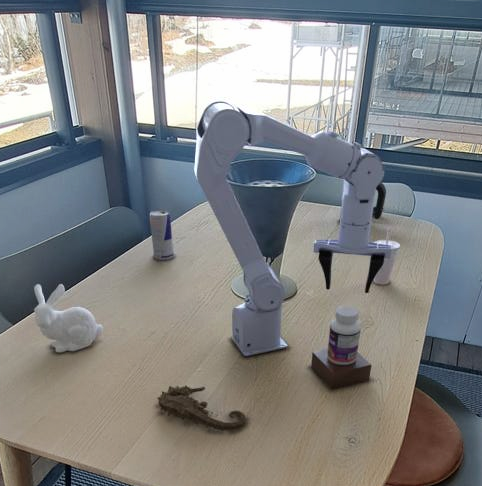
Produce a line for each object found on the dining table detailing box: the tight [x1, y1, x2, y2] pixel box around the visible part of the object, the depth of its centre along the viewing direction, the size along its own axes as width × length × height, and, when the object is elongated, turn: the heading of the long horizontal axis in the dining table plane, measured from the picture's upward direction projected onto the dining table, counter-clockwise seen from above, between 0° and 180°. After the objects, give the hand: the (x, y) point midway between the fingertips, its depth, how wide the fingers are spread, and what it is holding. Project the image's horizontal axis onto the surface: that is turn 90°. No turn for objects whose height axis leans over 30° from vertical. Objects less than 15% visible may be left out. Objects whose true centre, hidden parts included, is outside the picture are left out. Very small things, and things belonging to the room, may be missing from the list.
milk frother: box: [338, 179, 387, 224], centre depth 168 cm, size 14×16×15 cm
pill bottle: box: [327, 305, 362, 365], centre depth 94 cm, size 5×5×10 cm
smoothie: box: [373, 226, 401, 286], centre depth 129 cm, size 6×6×14 cm
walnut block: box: [310, 348, 373, 391], centre depth 98 cm, size 8×8×4 cm
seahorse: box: [156, 384, 247, 431], centre depth 89 cm, size 9×16×3 cm, turn 48°
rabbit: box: [33, 283, 104, 354], centre depth 105 cm, size 12×9×12 cm
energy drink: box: [149, 209, 174, 261], centre depth 142 cm, size 5×5×12 cm
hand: (347, 289), depth 105 cm, fingers open, 7 cm apart
